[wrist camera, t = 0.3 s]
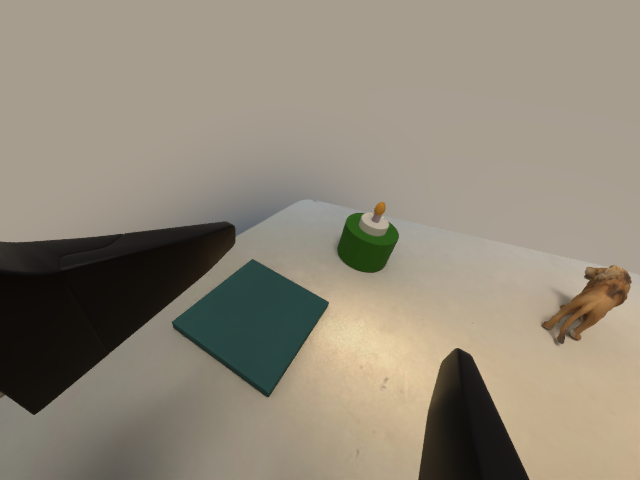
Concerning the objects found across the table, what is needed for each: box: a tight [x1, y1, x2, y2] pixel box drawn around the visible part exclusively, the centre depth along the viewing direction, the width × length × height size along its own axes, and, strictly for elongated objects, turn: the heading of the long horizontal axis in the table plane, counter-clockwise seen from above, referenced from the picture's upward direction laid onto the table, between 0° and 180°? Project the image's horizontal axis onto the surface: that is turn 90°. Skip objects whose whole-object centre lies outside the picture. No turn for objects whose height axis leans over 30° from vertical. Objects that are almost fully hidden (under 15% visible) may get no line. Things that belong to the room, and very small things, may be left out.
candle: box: [338, 202, 399, 272], centre depth 38 cm, size 8×8×10 cm
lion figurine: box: [543, 265, 631, 344], centre depth 35 cm, size 15×5×9 cm, turn 129°
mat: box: [172, 259, 329, 397], centre depth 27 cm, size 12×12×1 cm
